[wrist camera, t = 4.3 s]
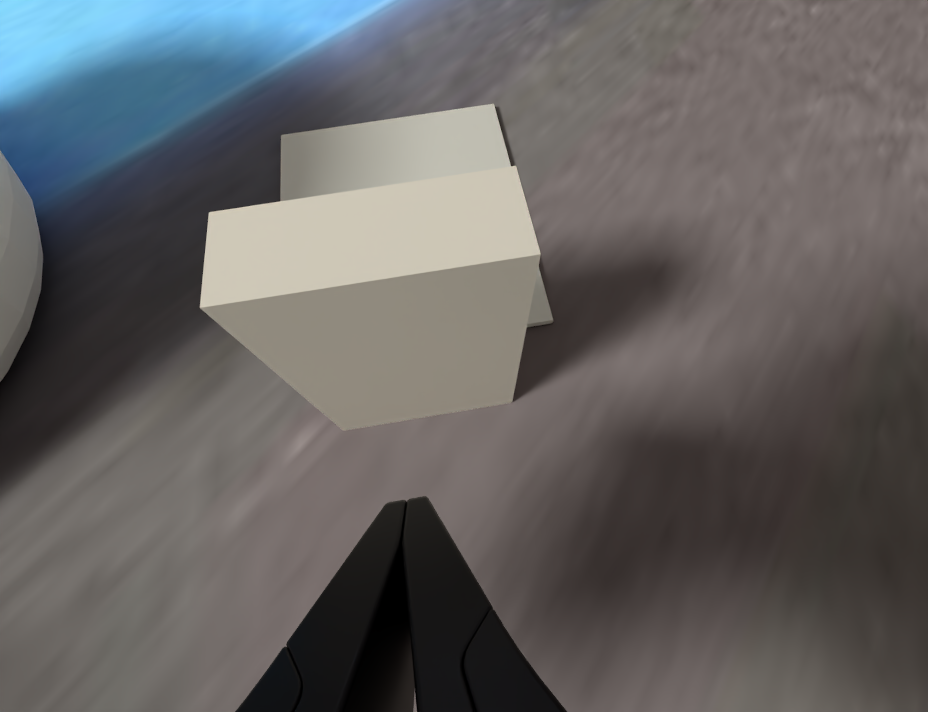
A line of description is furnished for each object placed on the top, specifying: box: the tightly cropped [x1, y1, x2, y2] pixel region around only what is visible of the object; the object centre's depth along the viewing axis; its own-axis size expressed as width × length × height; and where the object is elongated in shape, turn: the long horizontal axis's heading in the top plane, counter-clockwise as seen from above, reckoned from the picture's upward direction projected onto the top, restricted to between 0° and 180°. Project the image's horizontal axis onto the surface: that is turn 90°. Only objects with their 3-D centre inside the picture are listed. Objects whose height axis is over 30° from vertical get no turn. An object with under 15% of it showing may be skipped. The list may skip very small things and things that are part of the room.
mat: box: [280, 104, 553, 327], centre depth 22 cm, size 14×12×1 cm
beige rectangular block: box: [200, 166, 541, 431], centre depth 14 cm, size 3×7×10 cm, turn 99°
